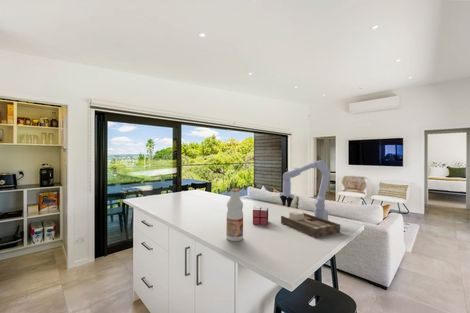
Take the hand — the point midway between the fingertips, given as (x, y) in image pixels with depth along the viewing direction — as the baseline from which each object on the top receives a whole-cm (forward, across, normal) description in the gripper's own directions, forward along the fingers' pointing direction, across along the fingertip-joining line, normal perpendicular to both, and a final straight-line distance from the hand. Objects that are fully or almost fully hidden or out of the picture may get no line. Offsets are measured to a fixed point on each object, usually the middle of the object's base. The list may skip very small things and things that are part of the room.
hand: (286, 206), depth 167 cm
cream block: (+6, +11, 0) cm, 13 cm away
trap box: (+9, +22, 0) cm, 24 cm away
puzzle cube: (+10, 0, -23) cm, 25 cm away
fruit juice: (+10, +19, -53) cm, 57 cm away
